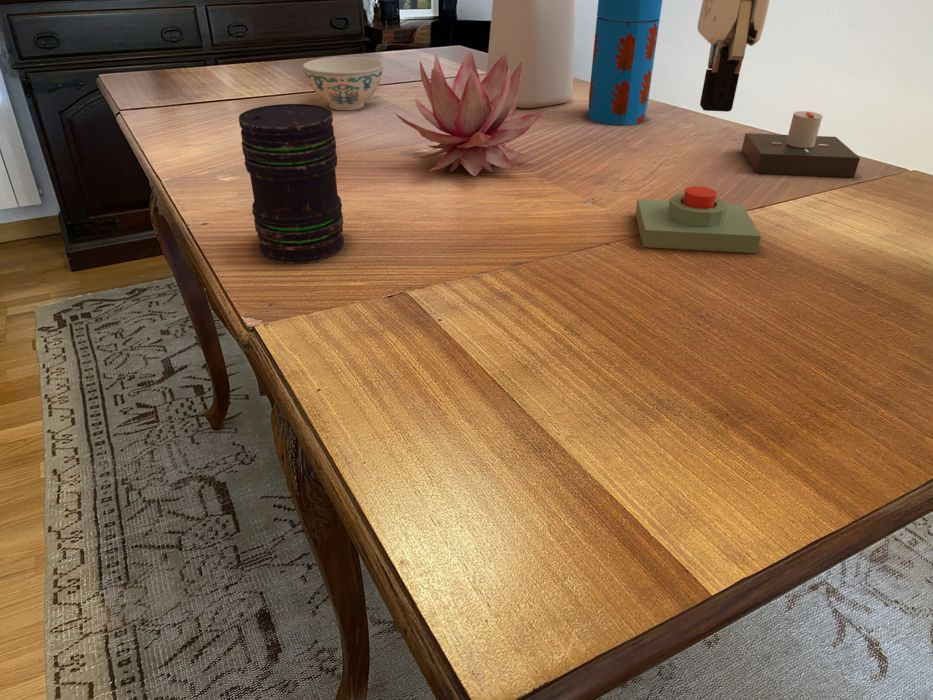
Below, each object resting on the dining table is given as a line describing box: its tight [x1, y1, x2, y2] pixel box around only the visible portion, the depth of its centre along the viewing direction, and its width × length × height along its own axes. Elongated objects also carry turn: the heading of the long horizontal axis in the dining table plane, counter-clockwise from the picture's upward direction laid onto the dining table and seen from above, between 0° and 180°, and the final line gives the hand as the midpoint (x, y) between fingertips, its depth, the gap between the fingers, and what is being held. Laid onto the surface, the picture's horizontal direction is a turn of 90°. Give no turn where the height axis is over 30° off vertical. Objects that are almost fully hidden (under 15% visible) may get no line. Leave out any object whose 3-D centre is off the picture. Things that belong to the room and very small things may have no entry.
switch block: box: [635, 192, 762, 254], centre depth 85 cm, size 13×10×4 cm
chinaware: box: [302, 56, 384, 111], centre depth 136 cm, size 15×15×8 cm
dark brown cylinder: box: [238, 103, 345, 265], centre depth 78 cm, size 10×10×15 cm
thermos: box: [587, 0, 663, 126], centre depth 125 cm, size 11×11×25 cm
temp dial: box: [786, 110, 823, 148], centre depth 107 cm, size 4×4×5 cm
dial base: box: [741, 132, 861, 178], centre depth 109 cm, size 14×11×3 cm
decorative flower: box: [394, 51, 547, 177], centre depth 103 cm, size 21×21×15 cm
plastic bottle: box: [485, 0, 576, 109], centre depth 136 cm, size 15×15×28 cm
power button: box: [683, 185, 717, 209], centre depth 84 cm, size 4×4×2 cm
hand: (715, 108), depth 78 cm, fingers closed
